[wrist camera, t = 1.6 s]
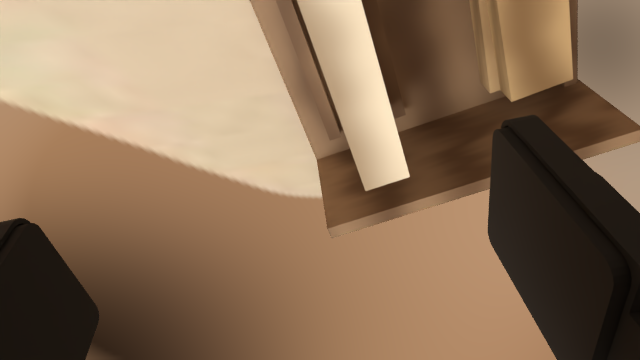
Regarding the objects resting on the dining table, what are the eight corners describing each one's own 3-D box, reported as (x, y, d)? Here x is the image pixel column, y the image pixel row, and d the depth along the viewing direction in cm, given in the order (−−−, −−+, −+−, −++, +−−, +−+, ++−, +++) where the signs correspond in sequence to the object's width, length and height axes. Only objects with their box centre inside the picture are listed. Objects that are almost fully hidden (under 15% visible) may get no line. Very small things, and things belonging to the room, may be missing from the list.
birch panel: (315, -113, 28) (334, -96, 20) (379, 106, 38) (410, 176, 30) (270, -94, 29) (271, -71, 21) (344, 118, 38) (365, 191, 30)
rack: (558, -307, 25) (695, -379, 17) (564, 79, 39) (642, 140, 31) (190, -146, 28) (159, -143, 20) (319, 162, 42) (331, 238, 34)
